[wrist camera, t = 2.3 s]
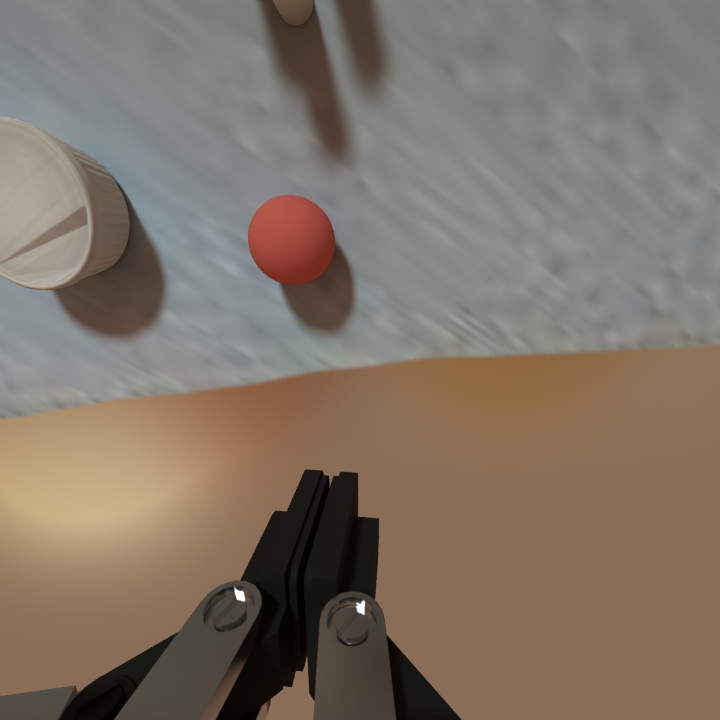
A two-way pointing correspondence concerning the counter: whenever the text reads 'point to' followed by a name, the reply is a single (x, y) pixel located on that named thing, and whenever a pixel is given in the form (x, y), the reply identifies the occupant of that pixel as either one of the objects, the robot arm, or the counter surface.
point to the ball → (291, 240)
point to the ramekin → (55, 210)
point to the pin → (294, 10)
